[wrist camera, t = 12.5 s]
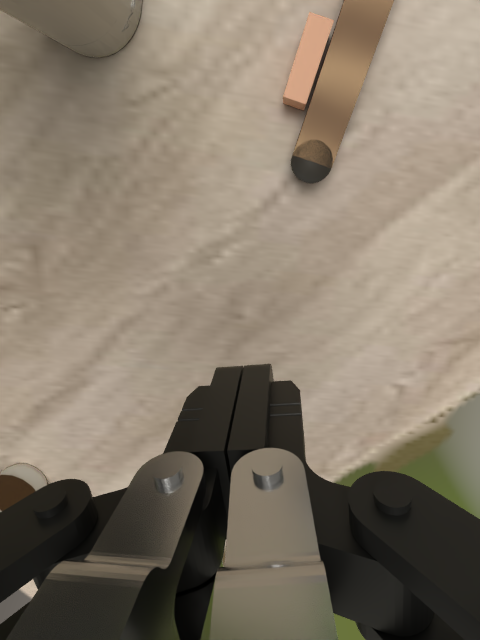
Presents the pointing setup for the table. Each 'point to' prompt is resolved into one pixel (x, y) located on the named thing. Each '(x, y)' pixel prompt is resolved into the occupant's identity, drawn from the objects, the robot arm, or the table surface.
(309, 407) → the table surface
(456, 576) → the robot arm
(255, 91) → the table surface
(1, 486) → the coffee cup
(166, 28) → the table surface
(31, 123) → the table surface
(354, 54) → the leg
